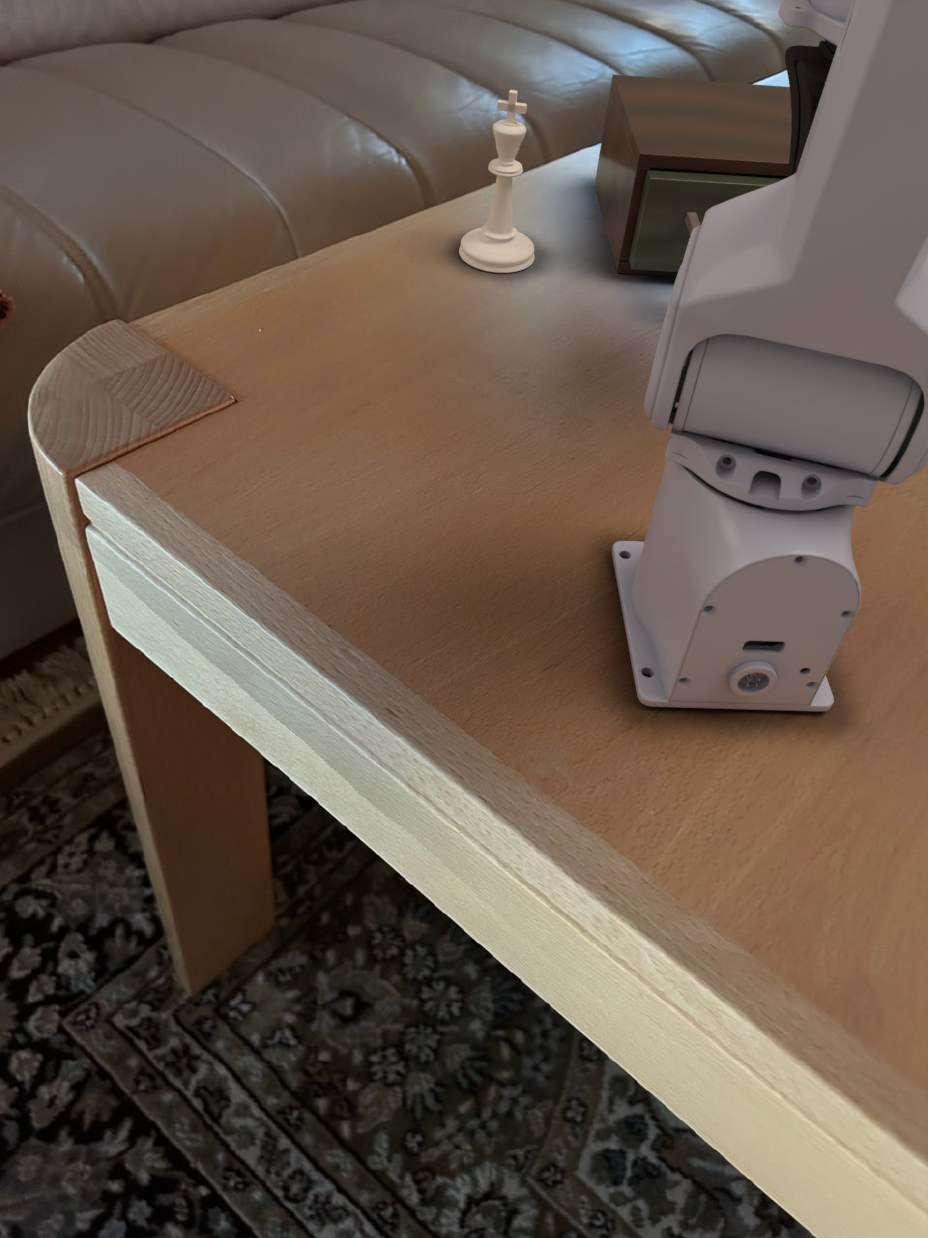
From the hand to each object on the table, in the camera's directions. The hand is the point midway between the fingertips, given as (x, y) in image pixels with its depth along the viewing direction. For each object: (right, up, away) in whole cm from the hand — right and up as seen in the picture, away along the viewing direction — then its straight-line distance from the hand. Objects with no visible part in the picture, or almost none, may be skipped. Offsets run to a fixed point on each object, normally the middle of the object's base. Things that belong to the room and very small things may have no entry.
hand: (808, 217), depth 51 cm
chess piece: (-15, +4, +16) cm, 22 cm away
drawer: (-1, +5, +17) cm, 17 cm away
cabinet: (-1, +7, +20) cm, 21 cm away
